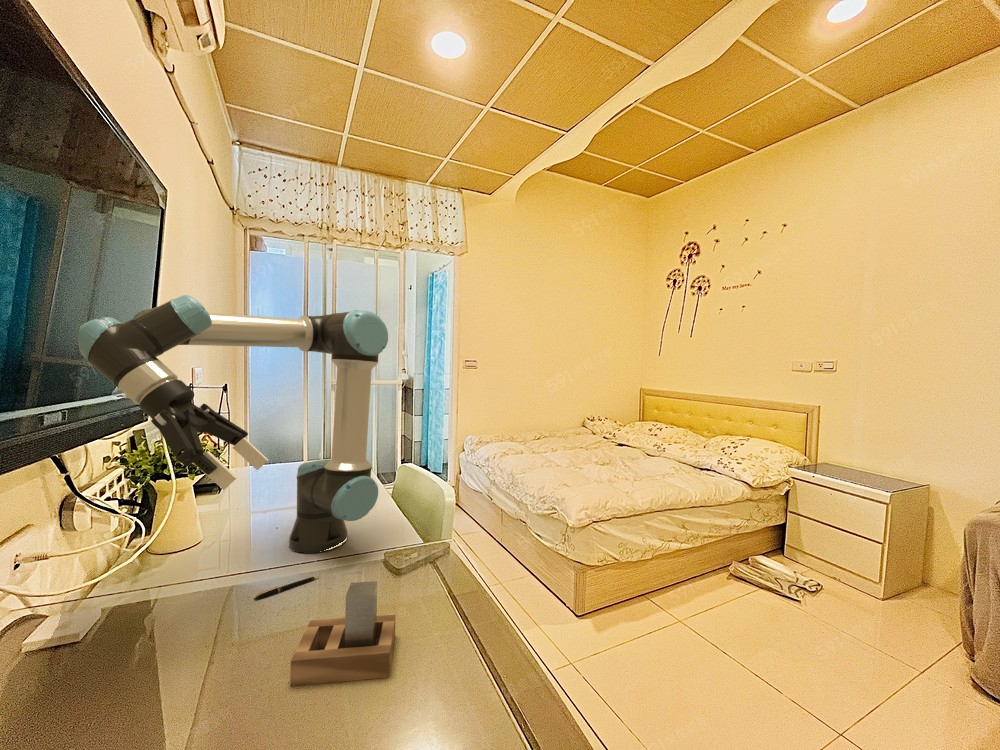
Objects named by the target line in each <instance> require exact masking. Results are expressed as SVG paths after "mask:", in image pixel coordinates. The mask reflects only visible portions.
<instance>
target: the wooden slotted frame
mask: <svg viewBox="0 0 1000 750" xmlns="http://www.w3.org/2000/svg"><path fill="white" fill-rule="evenodd" d="M395 640H396V614H387V615H386V614H385V615H377V622H376V646H367V647H354V648H345V617H343V618H342V617H341V618H326V619H315V620H314V619H313V620H310V621H309V622H308V625H307V627H306V629H305V631H304V633H303V634H302V637H301V639H300V641H299V643H298V645H297V647H296V649H295V651H294V653H293V656H292V658H291V660H290V681H289V684H290V687H296V686H306V685H308V686H309V685H317V684H329V683H339V682H350V681H361V680H363V681H364V680H372V679H382V678H383V679H384V678H390V674H391V667H392V659H393V652H394V645H395Z"/></svg>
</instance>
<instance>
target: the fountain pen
mask: <svg viewBox="0 0 1000 750" xmlns="http://www.w3.org/2000/svg"><path fill="white" fill-rule="evenodd" d="M319 577H320V575H317V576H311V577H307V578H304V579H300V580H298V581H295V582H292V583H289V584H286V585H283V586H278V587H277V586H274V587H272V588H269V589H267V590H263V591H261V592H259V593H257V594H256V596H255V597H254V598H253V600H254V601H255V600H256V601H258V600H262V599H266V598H268V597H272V596H275V595H278V594H281V593H283V592H286V591H288V590H291V589H294V588H296V587H300V586H302V585H304V584H307V583H310V582H312V581H314V580H315V579H317V578H319Z"/></svg>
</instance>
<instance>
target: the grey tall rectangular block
mask: <svg viewBox="0 0 1000 750" xmlns="http://www.w3.org/2000/svg"><path fill="white" fill-rule="evenodd" d="M344 606H345V612H344V613H345V614H344V616H345V617H344V618H345V648H354V647H367V646H377V644H376V622H377V616H378V614H377V613H378V581H376V580H375V581H360V582H359V581H358V582H350V584H349V587H348V589H347V593H346V594H345V605H344Z"/></svg>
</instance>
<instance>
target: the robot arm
mask: <svg viewBox="0 0 1000 750" xmlns="http://www.w3.org/2000/svg"><path fill="white" fill-rule="evenodd" d="M79 327H80V329H79V334H78V344H79V345H78V346H79V350H80V352H81V353H80V352H79V353H80V355H82V357H84V358H85V359H86V361H87V362H88V363H89V364H90V365H92V366H93V367H94V368H95V369H96V370H97V371H98V372H100V373H101V374H102V375H103V376H104V377H105V378H106V379H107V380H109V381H110V382H111V383H112V384H113V385H114V386H116V387H117V388H118V389H119V390H120V391H121V392H122V393H123V394H125V398H127V399H130V400H131V401H132V402H134V403H135V404H136V405H139V409H141V410H142V411H143V412H144V413H145V414H146V415H148V416H149V418H150V419H151V420H150V422H151V423H152V425H154V427H155V428H157V429H158V431H159V432H160V434H161V437H163V439H164V441H165V443H166V445H168V448H169V450H171V453H172V454H173V456H174V458H175V459H176V461H177V462H178V463H181V464H183V465H184V466H185V467H189V466H191V465H192V464H193V465H195V466H196V467H197V468H198V469H199V470H200V471H201V472H203V473H204V474H205V475H206V476H207V477H208V478H209V479H210V480H212V481H213V482H214V483H215V484H216V485H217V486H218V487H219V488H221V490H222V491H224V490H226V489H227V488H228V487H229V486H230V485H231V484H232V483H234V482H235V480H237V479H238V476H237V474H235V473H234V472H232V471H231V469H229V468H228V467H227V466H226V465H225V464H224V463H223V462H221V460H219V458H217V457H216V456H215V455H214V454H213V453H212V452H211V451H209V450H207V451H206V452H205V450H204V447H203V444H202V441H201V439H200V436H199V434H198V433H201V434H204V433H207V434H209V435H210V436H213V437H215V438H218V439H220V440H221V441H224V442H226V443H229V444H230V445H232V446H233V447H232V449H233V450H234V451H235V452H236V453H237V454H239V455H240V456H241V457H242V458H243V459H244V460H245V461H246V462H248V464H249V465H250V466H251V467H253V468H254V469H255V470H256V471H259V470H260V469H261V468H262V467H263V466H264V465H265V464H266V463H267V462H268V461H269V459H268V458H267V457H266V456H265V455H264V454H263V453H262V452H261V451H260V450H259V449H257V447H255V445H253V444H252V442H250V441H249V440H248V439H247V438H246V437H247V436H248V435H249V432H247V431H246V430H245V429H243V428H242V427H240V426H238V425H237V424H235V423H233V422H232V421H231V420H229V419H227V418H226V417H225V416H222V415H221V414H220V413H218V412H216V411H215V410H214V409H213V408H211V407H210V406H209V405H208V404H206V403H202V404H201V405H200V406H199V407H198V406H197V405H196V404H195V403H193V399H194V398H195V392H194V391H193V390H192V389H191V388H190V386H188V385H187V384H186V383H185V382H184V381H183V380H181V379H178V378H179V377H178V375H176V373H174V371H172V370H171V369H170V368H169V367H168V366H167V365H166V364H164V362H162V361H161V360H160V359H159V358H158V357H159V356H161V355H163V354H164V353H165V352H167V351H168V352H169V350H171V349H174V348H175V347H177V346H212V347H213V346H214V347H215V346H217V347H219V346H221V347H259V348H260V347H262V348H263V347H267V348H268V347H269V348H298V349H299V350H300V351H301V352H314V353H324V354H329V355H331V362H332V363H333V364H334V365H335V366H336V385H335V397H334V400H335V402H334V411H333V412H334V417H333V431H332V445H331V458H330V459H319V460H313V461H312V460H311V461H307V462H303V463H301V464H300V465H299V466H298V468H297V473H296V518H295V520H294V524H293V527H292V529H291V532H290V536H289V538H288V540H289V542H288V543H289V544H288V547H289V546H290V547H289V549H290V548H291V549H292V550H291V549H290V550H291V551H293V550H294V551H293V552H295V551H298V552H297V553H299V552H304V553H303V554H315V553H314V552H319V553H321V552H320V551H324V550H326V549H329V548H331V547H334V546H336V545H338V544H339V543H341V542H343V541H344V540H345V539H346V537H347V538H348V529H347V526H346V525H347V524H346V522H345V521H347V522H355V521H358V520H361V519H362V518H365V516H367V515H368V514H369V513H370V511H371V510H373V508H374V507H375V505H376V503H377V501H378V497H379V486H378V483H377V482H376V481H375V480H374V479H373V477H372V464H371V463H370V462H369V460H367V448H368V447H367V446H368V433H369V431H368V430H369V417H370V416H369V415H370V402H371V401H370V400H371V389H372V388H371V385H372V373H373V372H372V370H373V368H375V367H376V366H377V365H378V363H379V354H380V353H383V351H384V349H386V347H387V345H388V342H389V333H388V328H387V326H386V323H385V322H384V321H383V319H382V318H381V317H380V316H379V315H378V314H376V313H375V312H372V311H369V310H360V309H359V310H358V309H357V310H356V309H354V310H351V311H346V312H335V313H330V314H323V315H301V316H300V317H299V318H287V317H272V316H260V315H245V314H244V315H243V314H229V313H216V312H208V311H207V310H206V308H205V307H204V305H202V303H201V302H200V301H199V300H197V299H196V298H195V297H193V296H191V295H188V294H184V295H181V296H178V297H176V298H174V299H173V298H171V299H170V300H169V301H167V302H165V303H162V304H160V305H158V306H155V307H152V308H146V309H142V310H140V311H137V313H136V314H134V315H133V316H132V318H131V319H130V320H126V321H125V322H123V323H122V322H121V321H118V320H117V319H115V318H114V317H107V316H105V317H104V316H102V317H100V318H98V319H97V318H95V319H91V320H89V321H87V322H85V323H83V324H82V325H80V326H79Z"/></svg>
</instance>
